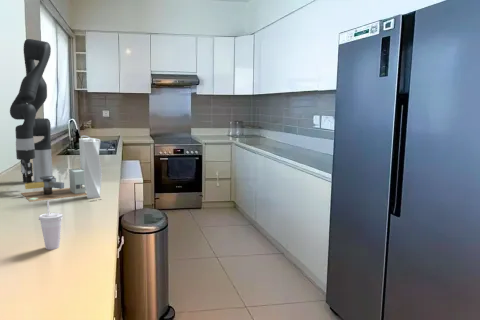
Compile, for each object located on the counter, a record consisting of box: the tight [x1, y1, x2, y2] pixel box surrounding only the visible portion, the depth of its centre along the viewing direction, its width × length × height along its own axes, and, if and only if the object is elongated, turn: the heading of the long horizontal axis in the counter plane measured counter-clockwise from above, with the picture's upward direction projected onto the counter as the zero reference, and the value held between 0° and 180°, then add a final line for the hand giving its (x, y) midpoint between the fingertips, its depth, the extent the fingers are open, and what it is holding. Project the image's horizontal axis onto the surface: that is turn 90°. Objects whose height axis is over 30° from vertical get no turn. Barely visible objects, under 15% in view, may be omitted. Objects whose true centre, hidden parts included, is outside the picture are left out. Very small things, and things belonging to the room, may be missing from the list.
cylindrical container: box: [78, 137, 93, 191], centre depth 206 cm, size 7×7×25 cm
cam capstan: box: [24, 175, 65, 194], centre depth 194 cm, size 16×14×7 cm
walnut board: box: [21, 187, 87, 203], centre depth 196 cm, size 21×24×1 cm
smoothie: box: [38, 200, 64, 250], centre depth 127 cm, size 6×6×14 cm
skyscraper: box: [80, 134, 103, 202], centre depth 189 cm, size 8×8×28 cm
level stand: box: [68, 168, 86, 194], centre depth 200 cm, size 10×4×10 cm, turn 35°
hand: (27, 183), depth 199 cm, fingers open, 8 cm apart
